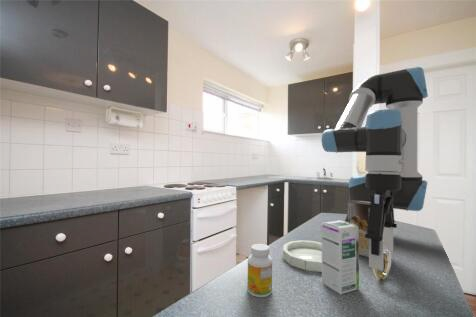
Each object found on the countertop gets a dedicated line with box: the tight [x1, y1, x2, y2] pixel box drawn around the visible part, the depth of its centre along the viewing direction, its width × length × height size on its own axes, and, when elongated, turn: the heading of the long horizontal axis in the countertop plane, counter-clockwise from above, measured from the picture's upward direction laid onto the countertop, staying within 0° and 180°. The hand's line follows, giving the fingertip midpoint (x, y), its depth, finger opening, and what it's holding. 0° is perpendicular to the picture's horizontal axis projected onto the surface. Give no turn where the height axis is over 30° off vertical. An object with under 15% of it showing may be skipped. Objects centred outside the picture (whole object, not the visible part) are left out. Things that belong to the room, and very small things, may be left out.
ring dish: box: [282, 239, 322, 273], centre depth 67 cm, size 16×16×2 cm
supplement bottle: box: [247, 243, 273, 298], centre depth 50 cm, size 5×5×10 cm
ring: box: [372, 246, 392, 280], centre depth 56 cm, size 7×3×8 cm, turn 119°
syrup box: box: [321, 219, 360, 296], centre depth 53 cm, size 6×6×14 cm
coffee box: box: [347, 200, 377, 258], centre depth 72 cm, size 9×6×16 cm
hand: (381, 259), depth 56 cm, fingers open, 13 cm apart
